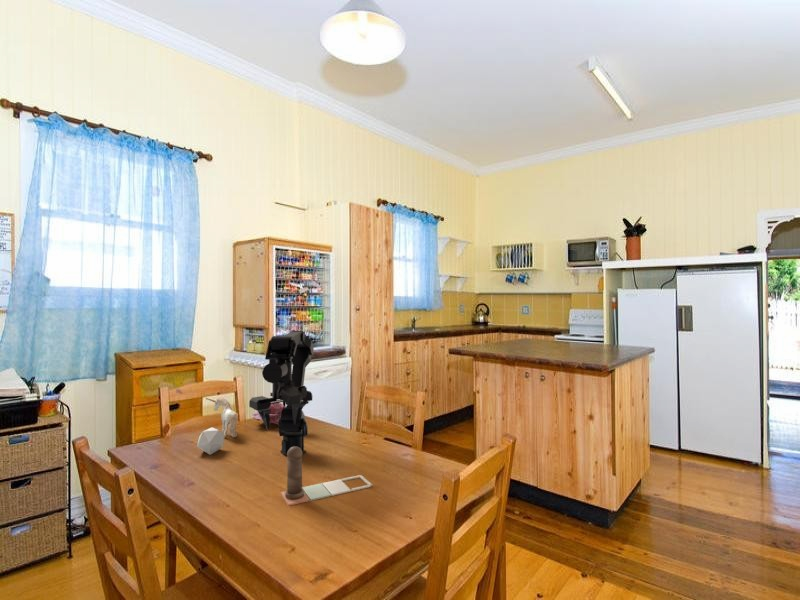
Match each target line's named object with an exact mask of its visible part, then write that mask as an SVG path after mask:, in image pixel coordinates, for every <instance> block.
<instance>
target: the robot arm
mask: <svg viewBox="0 0 800 600" xmlns="http://www.w3.org/2000/svg"><path fill="white" fill-rule="evenodd" d="M314 351H315V350H314V343H313V340H312V339H311V338H309V337H308V336H307V335H306V332H305V331H303V330H291V331H289V333H287V334H285V335H273V336H271V337H270V339H269V340H268V345H267V348H266V352H265V360H268V361H269V362H268V363H267V364H266V365H264V367H263V369H262V371H261V373H262V377H263V380H265V381H266V382H267V383H270V384H272V392H270V397H266V396H264V395H260V396H255V397H254V396H253V397H251V398H250V400H249V403H248V404H249V405H248V406H249V408H251V409H253V410H255V411H257V412H259V414H260V416H261V418H262V420H263V421H262V422H263V424H264V427H265V429H266V431H270V427H271V423H270V412H271V409H269V407H270V406H271V404H275V403H281V404H282V403H284V404H285V405H286V406H285V408H283V409H282V411H281V418H280V419H279V423H278V425H277V427H278V435H279V437H282V440H281V450H280V453H281V454H283V455H285V456H287V452H288V450H289V449H290V448H291V447H293V446H297V447H299V448H300V449H301V450H302V454H305V453H307V450H306V449H305V446H304V445H305V444H304V443H305V436H308V435H309V430H308V424H307V421H306V418H305V413H304V411H303V408H304V407H305V406H306V405H308V404H309V403H310V401H313V392H311V391H310V390H308V388H307V386H306V385H304V384H305V375H306V368H307V367H308V365H309V364H310V363H311V361H312V356H313V355H314Z"/></svg>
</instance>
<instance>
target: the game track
mask: <svg viewBox="0 0 800 600" xmlns="http://www.w3.org/2000/svg"><path fill="white" fill-rule="evenodd" d="M354 479H361V480H362V481H363V483H366V484H365V485H362V486H357V487H352V488H351V489H350V487H348V485H347V484H346V483H345V481H349V480H354ZM373 486H374V485H373V484H372V483H371V482H370V481H369V480H368V479H366V477H364V476H363V475H361V474H358V475H354V476H350V477H349V476H348V477H345V478H340V479H335V480H331V481H327V482H326V481H324V482H320V483H315V484H310V485H307V486H302V488H303V489H304V496H303V497H302V498H300V499H296V500H290V499H287V498H286V497H285V491H286V490H285V491H284V490H283V491H280V495H281V497H282V498H283V500H284V501H285V503H286V505H287V506H288V507H290V506H294V505H298V504H302V503H307V502H312V501H316V500H319V499H324V498H328V497H331V496H332V497H333V496H338V495H341V494H346V493H350V492H354V491H359V490H364V489H367V488H372V487H373Z"/></svg>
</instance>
